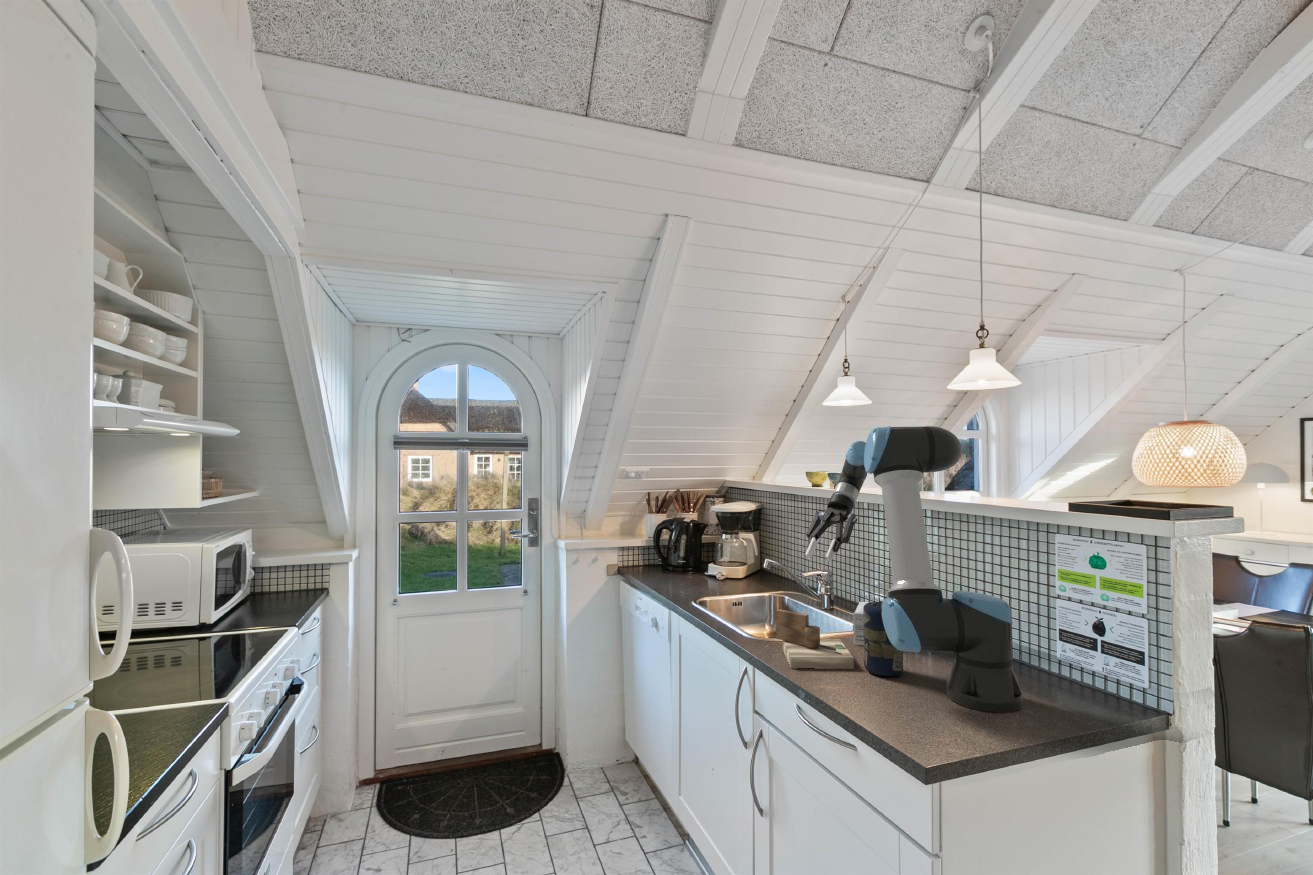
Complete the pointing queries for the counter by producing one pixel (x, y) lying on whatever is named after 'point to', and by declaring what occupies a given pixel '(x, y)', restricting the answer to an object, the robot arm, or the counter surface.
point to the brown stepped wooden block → (798, 629)
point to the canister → (879, 644)
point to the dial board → (819, 655)
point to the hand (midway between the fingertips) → (818, 558)
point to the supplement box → (859, 624)
